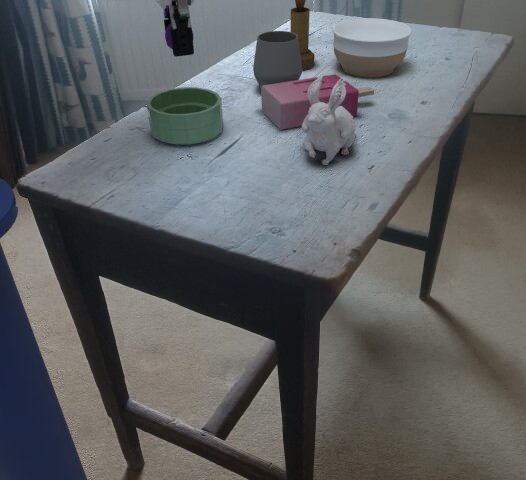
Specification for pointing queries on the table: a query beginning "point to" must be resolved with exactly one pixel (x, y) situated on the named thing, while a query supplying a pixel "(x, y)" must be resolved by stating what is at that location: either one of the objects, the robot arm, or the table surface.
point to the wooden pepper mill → (302, 33)
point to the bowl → (370, 45)
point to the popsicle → (304, 99)
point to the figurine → (328, 122)
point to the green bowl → (185, 115)
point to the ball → (169, 36)
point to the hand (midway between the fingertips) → (180, 48)
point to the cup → (277, 58)
